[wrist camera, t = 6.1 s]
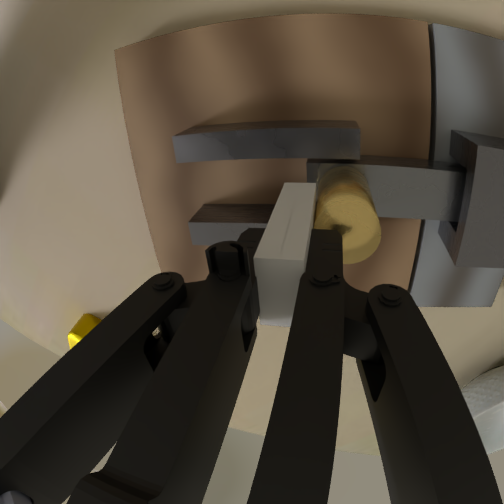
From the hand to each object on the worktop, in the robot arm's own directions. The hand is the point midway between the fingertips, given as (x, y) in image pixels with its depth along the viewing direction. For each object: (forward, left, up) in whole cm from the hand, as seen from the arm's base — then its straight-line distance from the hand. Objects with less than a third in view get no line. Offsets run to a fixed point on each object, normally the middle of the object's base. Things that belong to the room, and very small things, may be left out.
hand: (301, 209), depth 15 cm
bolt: (+5, 0, -4) cm, 7 cm away
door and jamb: (+3, 0, -7) cm, 7 cm away
